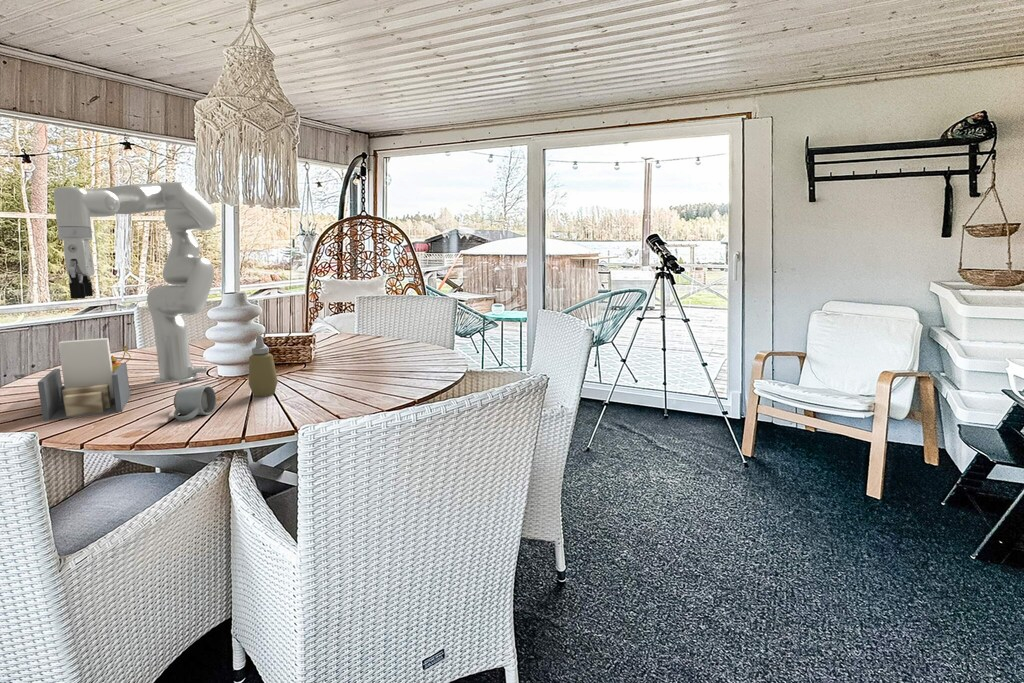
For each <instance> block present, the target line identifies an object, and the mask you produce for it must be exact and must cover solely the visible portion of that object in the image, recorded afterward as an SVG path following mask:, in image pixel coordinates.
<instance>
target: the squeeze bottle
mask: <svg viewBox="0 0 1024 683" xmlns="http://www.w3.org/2000/svg"><path fill="white" fill-rule="evenodd" d="M269 352H270V348H269V346H267V345H265V342H264V338H263V337H262V335H261V334H257V335H256V341H255V346H254V347H251V353H252V354H251V355H249V357H248V386H249V388H250V390H251V392H252V395H253V396H255V397H262V398H263V397H269V396H273V395H275V393H276V388H277V386H278V380H279V379H278V376H277V370H276V366H275V361H274V356H273V354H272V353H269Z"/></svg>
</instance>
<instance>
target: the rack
mask: <svg viewBox="0 0 1024 683" xmlns="http://www.w3.org/2000/svg"><path fill="white" fill-rule="evenodd" d="M120 363H121V364H120V365H119V367H118V368H117V369H116V371H115V372H114V373H113V374H112V380H113V388H114V395H115V398H111V404H112V405H111V407H110V408H105V410H104V411H103V412H99V413H90V414H82V415H73V416H66V413H65V407H64V400H63V394H62V390H64V389H65V387H64V385H63V381H62V375H61V374H62V373H61V368H54V369H52V370H51V371H50V372H49V373H47V374H46V375H45V376H43V377H42V378H41V379H40V380H39V381H37V386H38V393H39V394H38V395H39V401H40V406H41V407H40V408H41V414H42V420H43V421H44V422H46V421H54V420H63V419H70V418H79V417H89V416H95V415H96V416H97V415H105V414H106V415H107V414H115V413H122V412H123V411H124V409H125V407H126V406H127V403H128V401H129V400H130V398H131V390H130V382H129V373H128V367H127V362H126V363H124V362H120Z"/></svg>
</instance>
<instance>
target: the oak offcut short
mask: <svg viewBox="0 0 1024 683" xmlns="http://www.w3.org/2000/svg"><path fill="white" fill-rule="evenodd" d="M64 402H65V409H66V416H73V415H82V414H90V413H99V412H103V411H104V410H105V406H104V398H103V391H100V392H90V393H80V394H71V395H66V396H65V397H64Z"/></svg>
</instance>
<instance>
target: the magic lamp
mask: <svg viewBox="0 0 1024 683" xmlns="http://www.w3.org/2000/svg"><path fill="white" fill-rule="evenodd" d="M122 348H123V350H124V352H123V356H122V357H121V359H117V358H116V357H115V356H114V355H111V361H112V369H113V373H114V372H115V371H116V369H117V368H118V367H119V365H120V364H121V363H122V361H123V360H124V359H125V355H126V354H127V355H128V356H129V357H128V359H127V360H125V361H124V362H123V363H126V364H127V362H128V361H130V360H131V358H132V357H131V354H130V353H129V352H128V345H127V344H125V345H123V346H122Z"/></svg>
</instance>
